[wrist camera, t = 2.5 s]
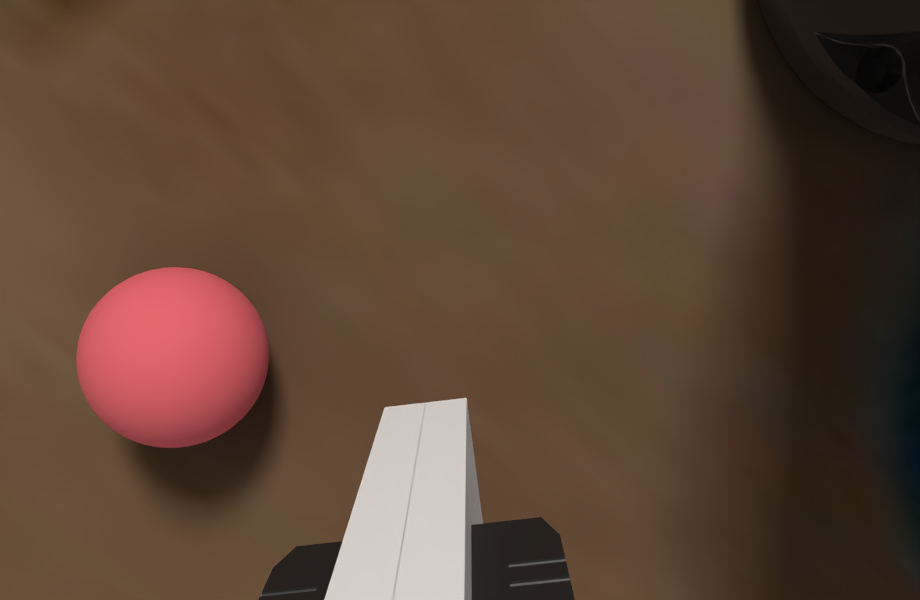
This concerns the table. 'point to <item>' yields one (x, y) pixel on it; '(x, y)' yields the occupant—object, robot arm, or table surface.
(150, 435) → the ball
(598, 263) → the table surface
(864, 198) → the table surface
